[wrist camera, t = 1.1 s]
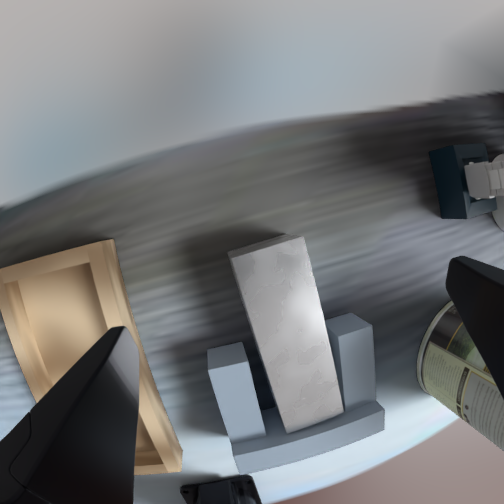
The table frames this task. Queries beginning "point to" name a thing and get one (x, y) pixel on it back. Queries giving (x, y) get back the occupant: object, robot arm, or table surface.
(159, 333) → the table surface
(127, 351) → the robot arm
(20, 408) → the table surface
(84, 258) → the oak tray
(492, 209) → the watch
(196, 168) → the table surface
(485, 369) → the coffee can
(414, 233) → the table surface
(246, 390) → the bracket
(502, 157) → the cup
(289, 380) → the steel block
